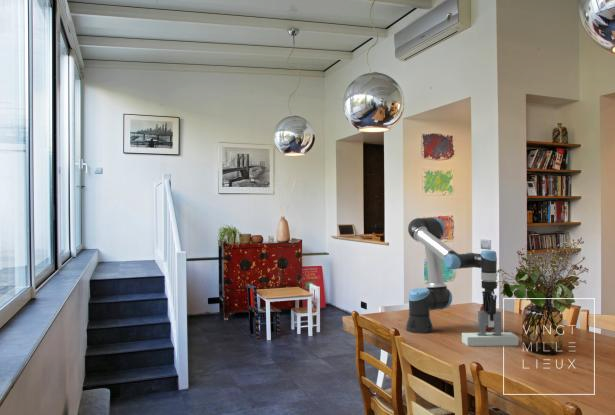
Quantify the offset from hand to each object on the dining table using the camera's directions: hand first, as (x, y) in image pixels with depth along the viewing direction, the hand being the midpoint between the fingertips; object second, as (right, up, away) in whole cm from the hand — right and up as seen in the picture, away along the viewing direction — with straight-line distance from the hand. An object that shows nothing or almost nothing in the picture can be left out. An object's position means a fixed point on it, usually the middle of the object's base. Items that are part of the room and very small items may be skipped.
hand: (489, 325), depth 257 cm
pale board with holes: (0, -9, 0) cm, 9 cm away
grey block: (0, -5, 0) cm, 5 cm away
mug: (+6, -9, +24) cm, 27 cm away
